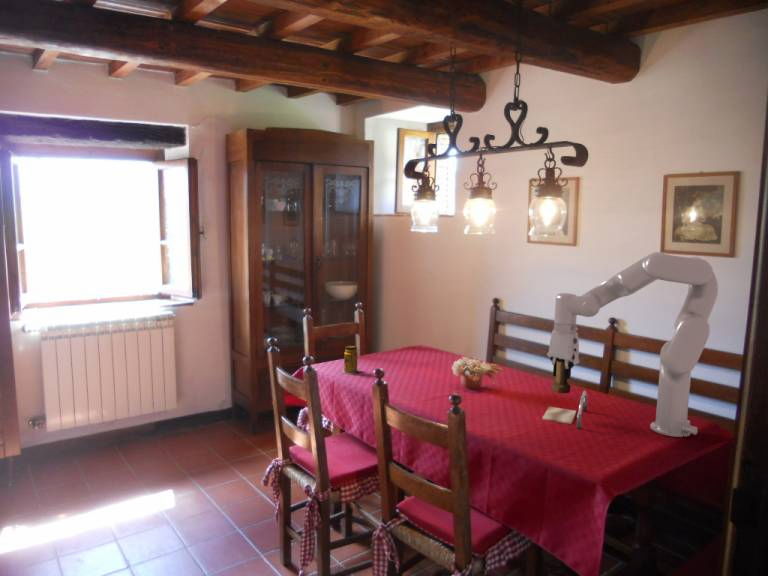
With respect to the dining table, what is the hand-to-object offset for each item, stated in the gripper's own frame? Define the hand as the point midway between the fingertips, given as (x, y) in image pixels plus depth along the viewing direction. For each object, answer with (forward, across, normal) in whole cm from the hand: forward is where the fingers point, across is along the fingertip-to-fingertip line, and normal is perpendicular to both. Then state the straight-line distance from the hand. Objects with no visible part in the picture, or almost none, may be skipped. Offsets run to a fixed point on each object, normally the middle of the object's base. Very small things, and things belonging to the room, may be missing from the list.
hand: (561, 376), depth 210 cm
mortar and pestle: (+5, 0, 0) cm, 5 cm away
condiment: (+16, +90, +35) cm, 98 cm away
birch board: (+15, 0, 0) cm, 15 cm away
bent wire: (+15, -7, -4) cm, 17 cm away
